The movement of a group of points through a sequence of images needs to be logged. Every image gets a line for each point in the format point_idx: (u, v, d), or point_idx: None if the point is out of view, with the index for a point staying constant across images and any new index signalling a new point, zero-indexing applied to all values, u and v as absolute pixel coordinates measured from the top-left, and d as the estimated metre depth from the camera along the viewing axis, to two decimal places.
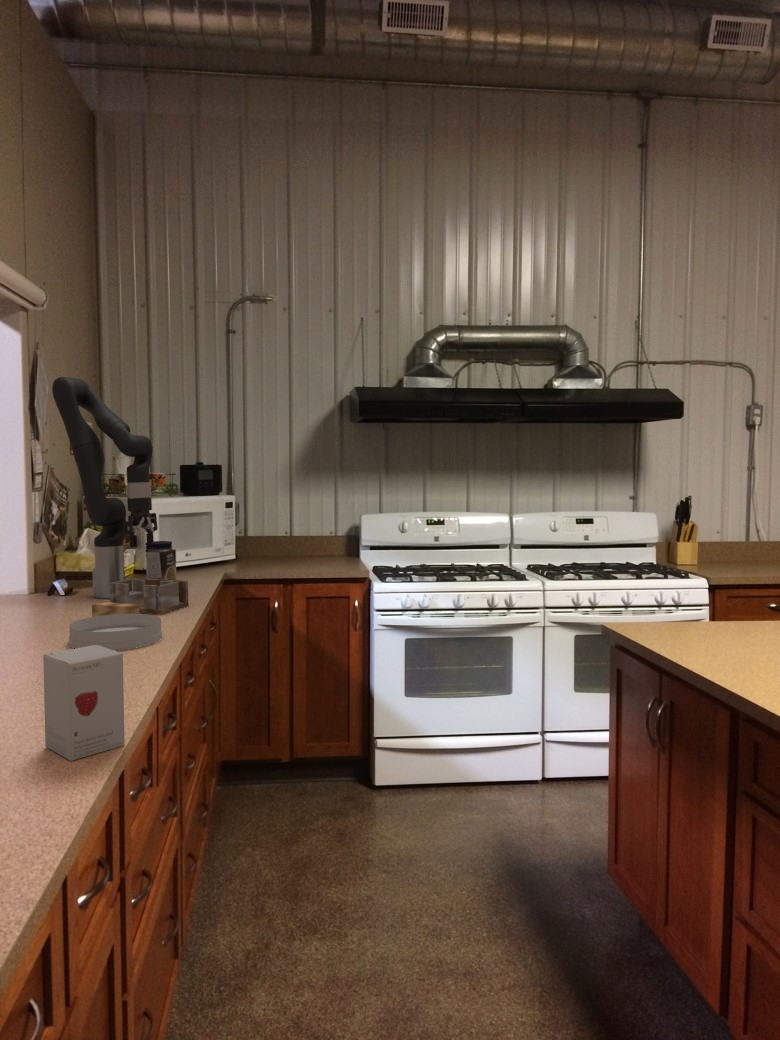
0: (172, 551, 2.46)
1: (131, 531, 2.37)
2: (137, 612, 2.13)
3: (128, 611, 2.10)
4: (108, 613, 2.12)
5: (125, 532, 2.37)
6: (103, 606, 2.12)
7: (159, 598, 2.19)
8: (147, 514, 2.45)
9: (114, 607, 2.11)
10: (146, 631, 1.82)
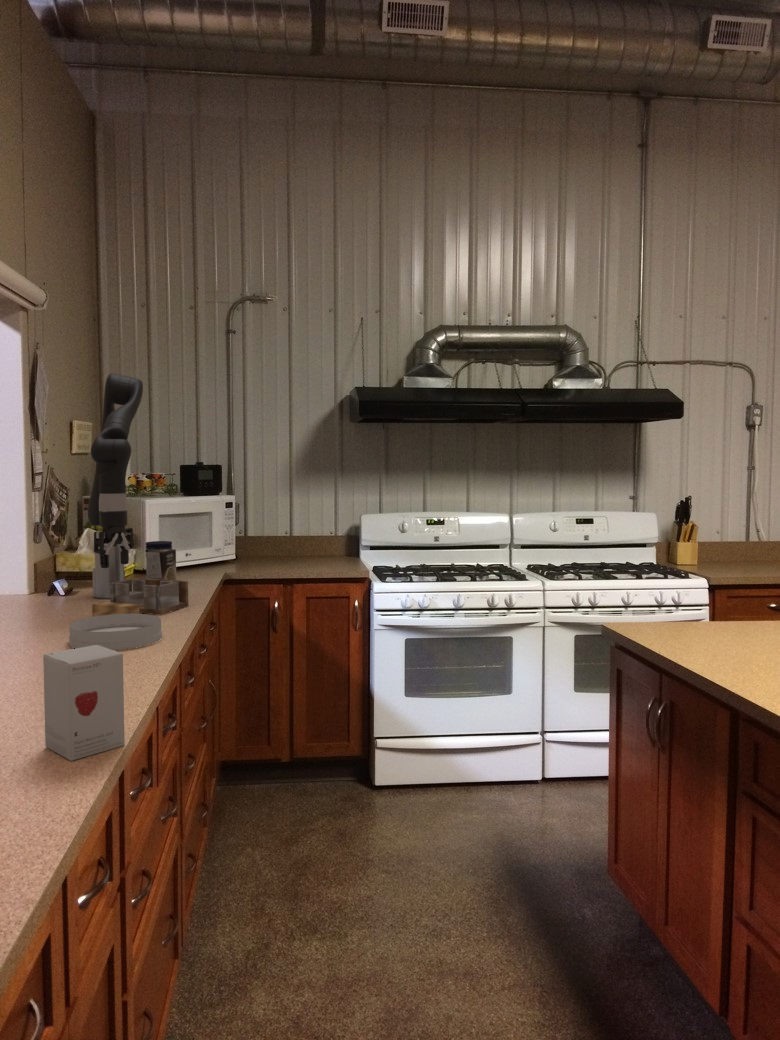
0: (172, 551, 2.46)
1: (102, 550, 2.05)
2: (137, 612, 2.13)
3: (128, 611, 2.10)
4: (108, 613, 2.12)
5: (95, 550, 2.06)
6: (103, 606, 2.12)
7: (159, 598, 2.19)
8: (122, 529, 2.14)
9: (114, 607, 2.11)
10: (146, 631, 1.82)
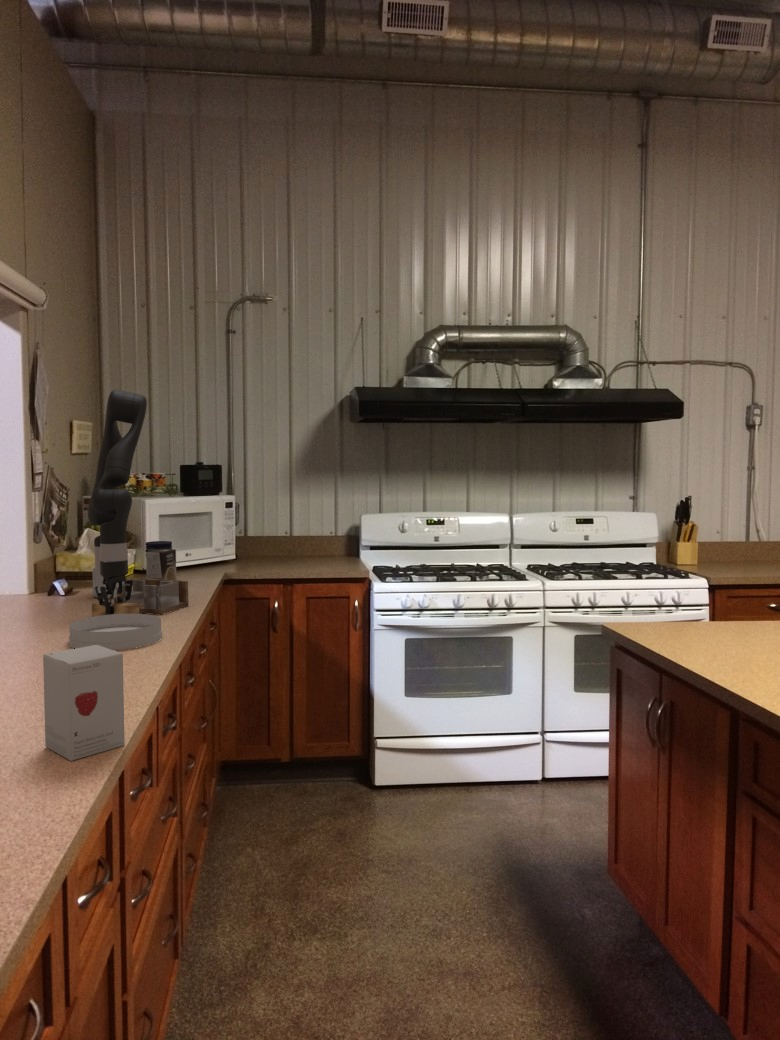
0: (172, 551, 2.46)
1: (107, 602, 2.08)
2: (137, 611, 2.12)
3: (128, 610, 2.10)
4: None
5: (101, 604, 2.09)
6: None
7: (159, 598, 2.19)
8: (123, 577, 2.15)
9: (114, 606, 2.11)
10: (146, 631, 1.82)
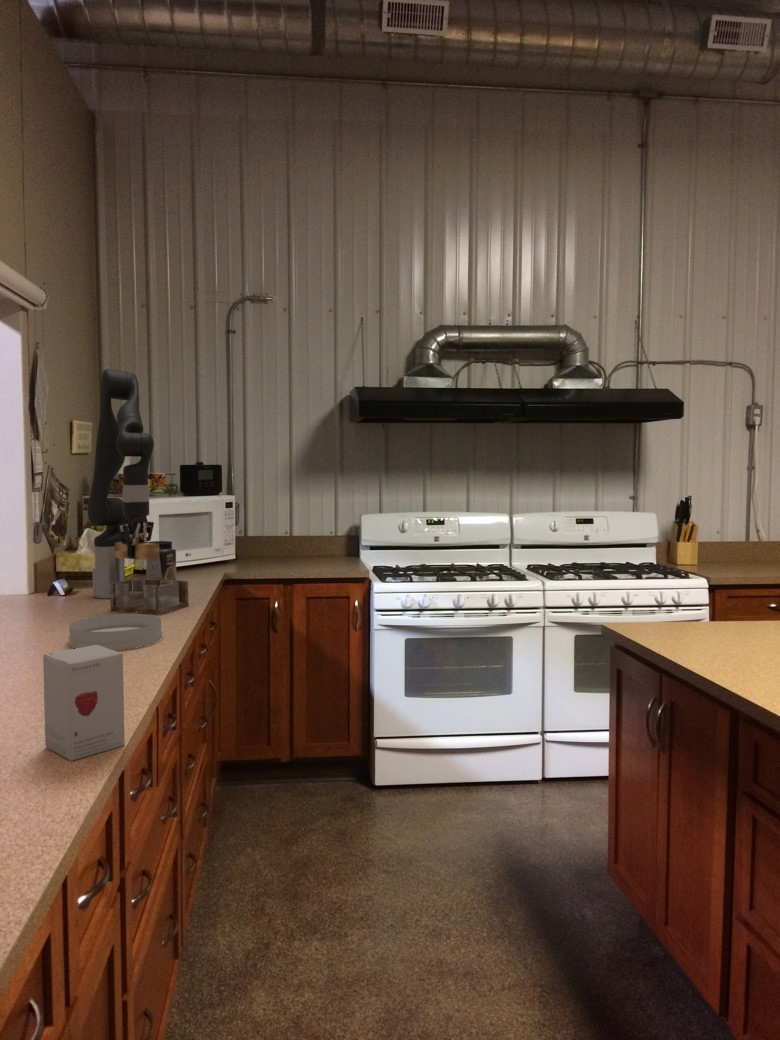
0: (172, 551, 2.46)
1: (129, 541, 2.18)
2: (157, 551, 2.22)
3: (149, 549, 2.19)
4: None
5: (123, 542, 2.18)
6: (125, 544, 2.22)
7: (159, 598, 2.19)
8: (144, 518, 2.24)
9: (135, 545, 2.20)
10: (146, 631, 1.82)
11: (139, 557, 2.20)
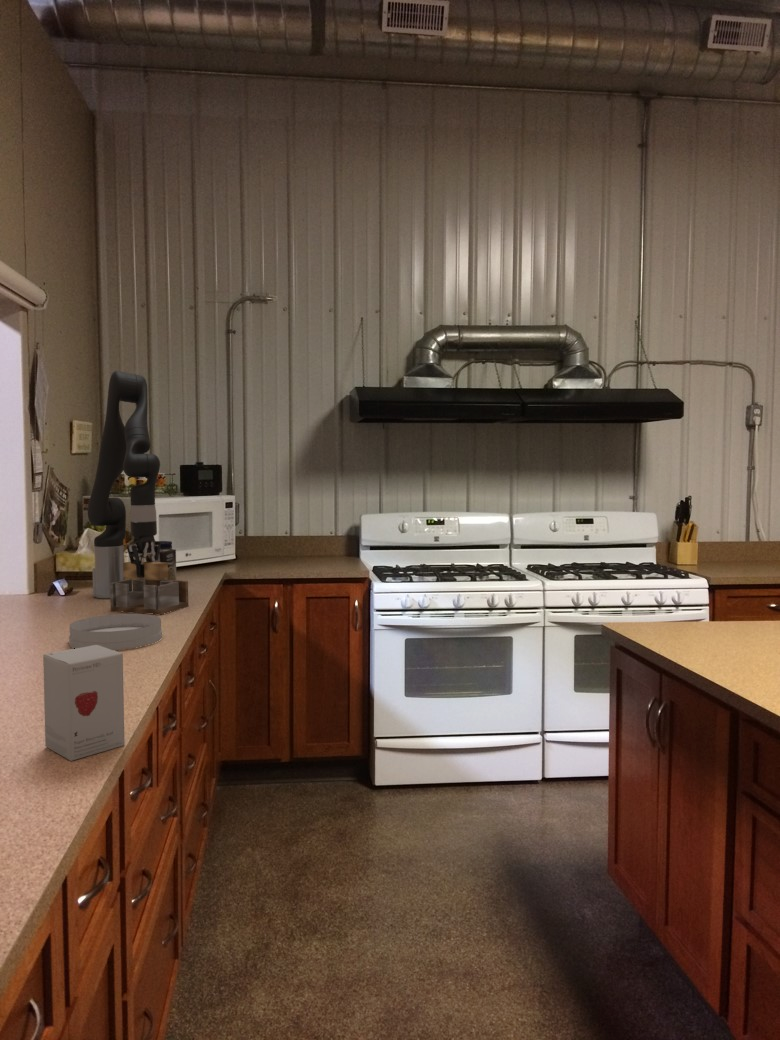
0: (172, 551, 2.46)
1: (138, 560, 2.21)
2: (166, 569, 2.25)
3: (158, 568, 2.22)
4: None
5: (132, 562, 2.21)
6: (134, 564, 2.24)
7: (159, 598, 2.19)
8: (152, 538, 2.27)
9: (144, 565, 2.23)
10: (146, 631, 1.82)
11: (148, 576, 2.23)
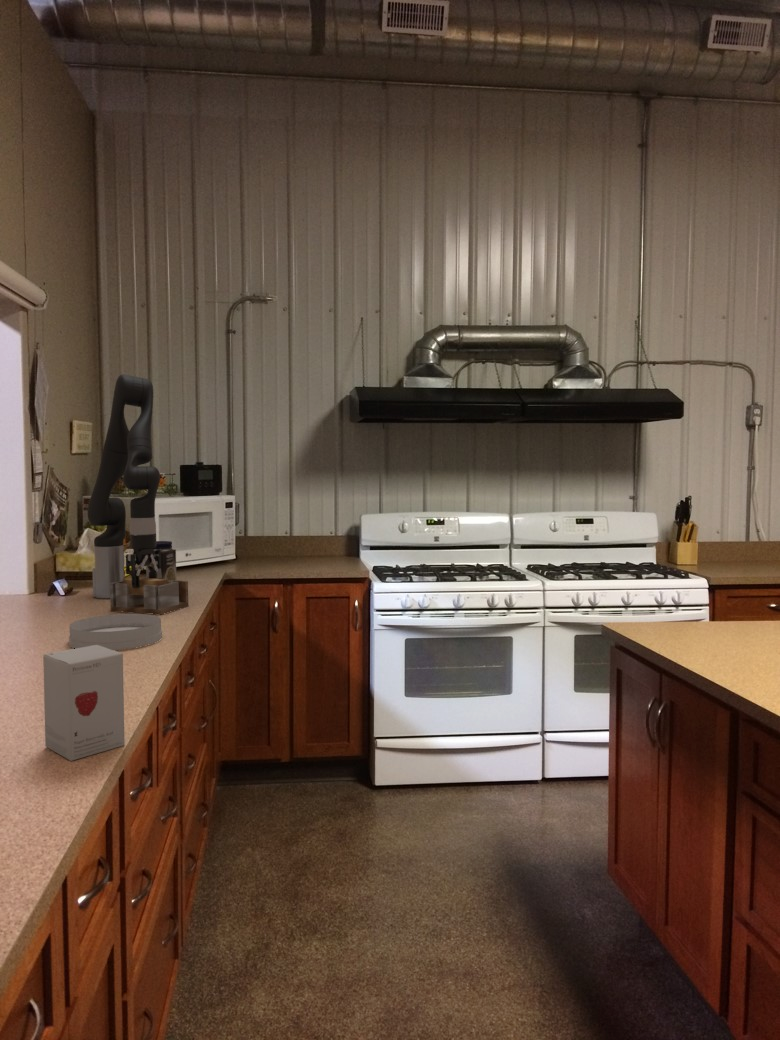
0: (172, 551, 2.46)
1: (133, 571, 2.19)
2: None
3: (157, 585, 2.22)
4: None
5: (127, 572, 2.19)
6: None
7: (159, 598, 2.19)
8: (151, 551, 2.27)
9: (144, 581, 2.23)
10: (146, 631, 1.82)
11: None
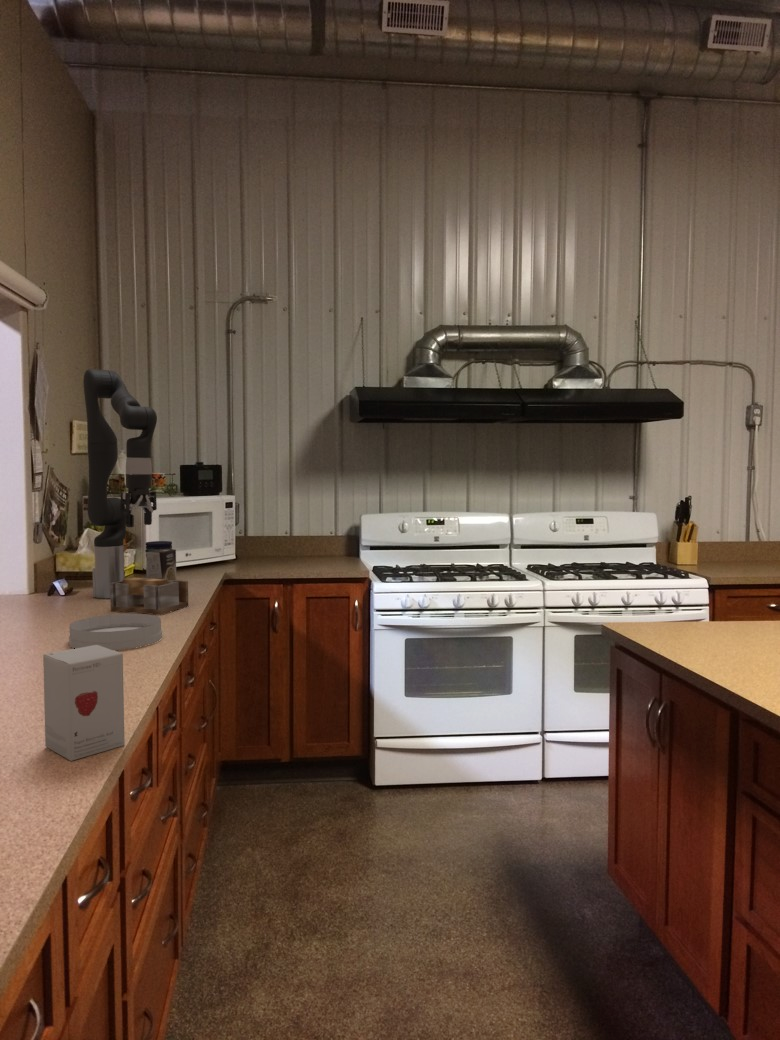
0: (172, 551, 2.46)
1: (128, 510, 2.19)
2: None
3: (157, 585, 2.22)
4: (138, 587, 2.24)
5: (121, 510, 2.20)
6: (133, 581, 2.25)
7: (159, 598, 2.19)
8: (146, 492, 2.27)
9: (144, 581, 2.23)
10: (146, 631, 1.82)
11: None
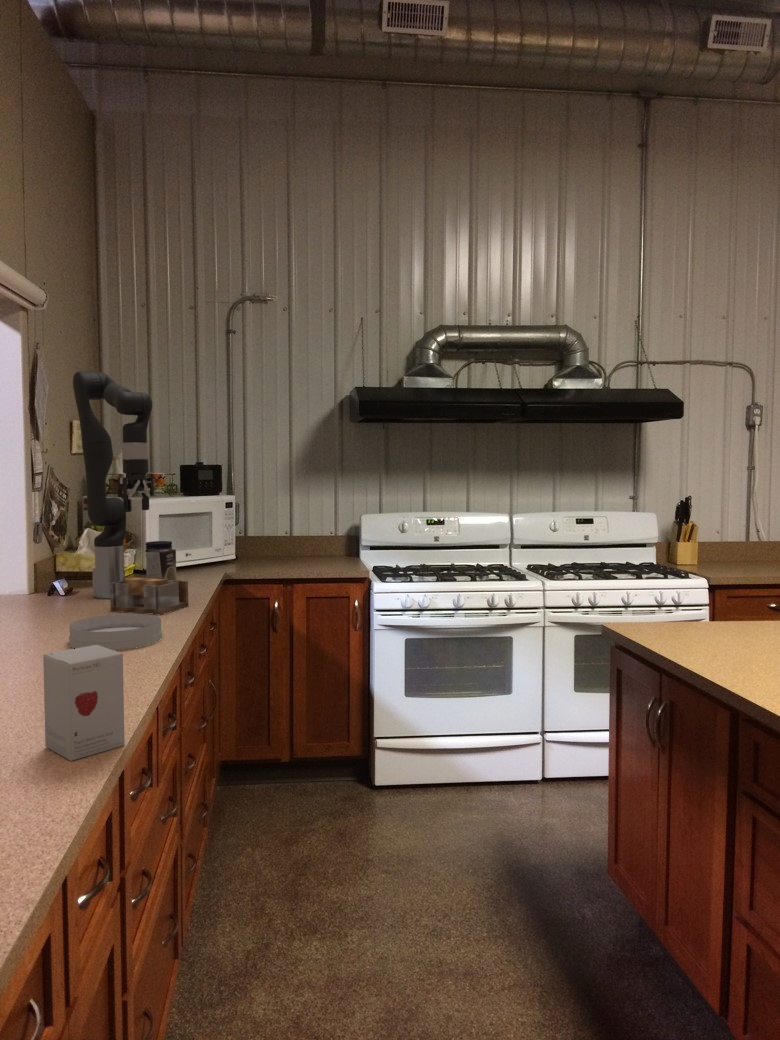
0: (172, 551, 2.46)
1: (125, 494, 2.21)
2: None
3: (157, 585, 2.22)
4: (138, 587, 2.24)
5: (119, 495, 2.21)
6: (133, 581, 2.25)
7: (159, 598, 2.19)
8: (143, 477, 2.29)
9: (144, 581, 2.23)
10: (146, 631, 1.82)
11: None
